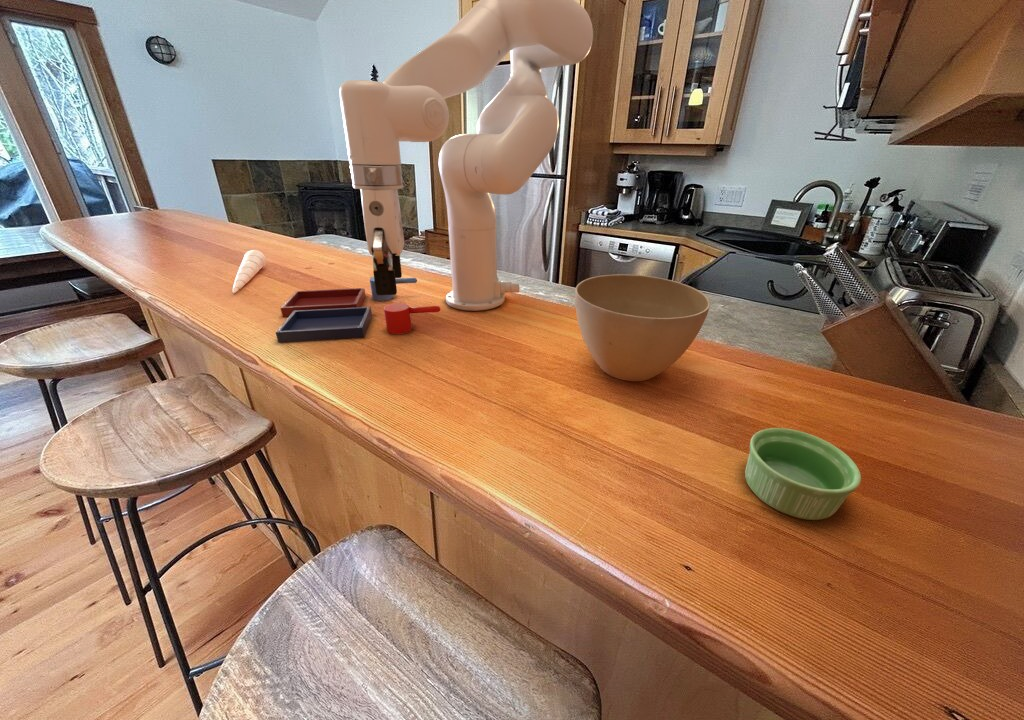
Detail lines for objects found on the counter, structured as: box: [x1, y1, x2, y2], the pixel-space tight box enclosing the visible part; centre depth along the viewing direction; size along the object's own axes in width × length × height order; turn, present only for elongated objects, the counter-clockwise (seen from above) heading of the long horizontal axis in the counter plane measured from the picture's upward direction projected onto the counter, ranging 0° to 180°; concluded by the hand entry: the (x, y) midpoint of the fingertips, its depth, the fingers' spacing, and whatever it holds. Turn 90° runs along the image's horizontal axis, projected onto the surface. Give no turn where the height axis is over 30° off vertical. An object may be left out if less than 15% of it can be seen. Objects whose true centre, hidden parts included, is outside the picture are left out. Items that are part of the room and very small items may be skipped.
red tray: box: [280, 287, 367, 318], centre depth 86 cm, size 14×10×2 cm
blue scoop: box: [369, 276, 418, 302], centre depth 90 cm, size 10×4×4 cm, turn 99°
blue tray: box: [275, 306, 373, 343], centre depth 75 cm, size 14×10×2 cm
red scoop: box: [383, 302, 442, 335], centre depth 75 cm, size 10×4×4 cm, turn 99°
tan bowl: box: [574, 273, 711, 382], centre depth 60 cm, size 18×18×12 cm
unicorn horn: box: [232, 249, 267, 294], centre depth 100 cm, size 5×24×5 cm, turn 13°
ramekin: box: [744, 427, 862, 521], centre depth 40 cm, size 9×9×4 cm
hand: (390, 285), depth 71 cm, fingers open, 9 cm apart
